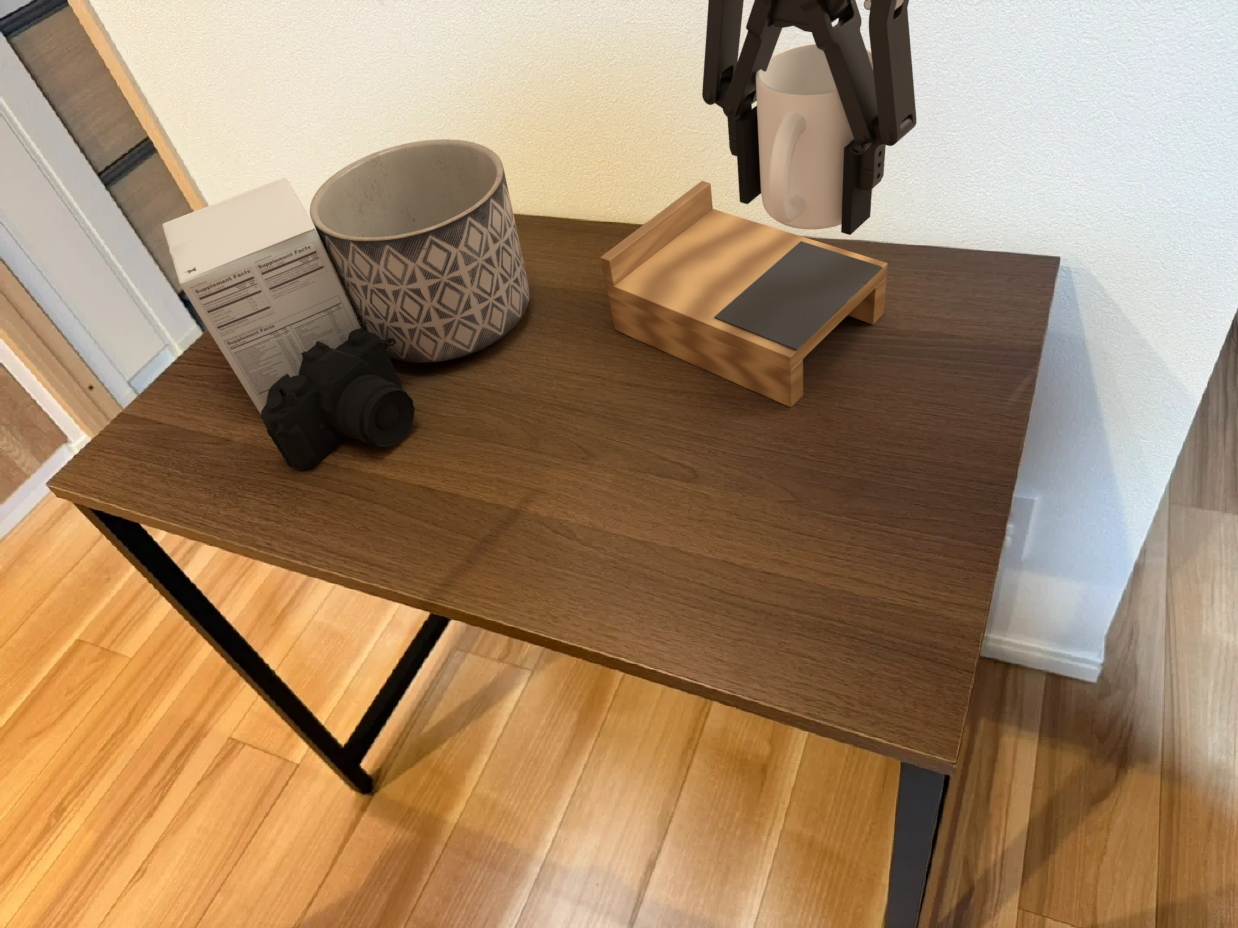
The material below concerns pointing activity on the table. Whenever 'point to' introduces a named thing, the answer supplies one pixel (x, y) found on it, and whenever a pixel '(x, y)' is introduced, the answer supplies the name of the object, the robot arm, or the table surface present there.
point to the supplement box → (260, 283)
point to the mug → (801, 139)
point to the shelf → (736, 293)
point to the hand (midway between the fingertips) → (802, 208)
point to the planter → (426, 247)
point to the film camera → (338, 401)
